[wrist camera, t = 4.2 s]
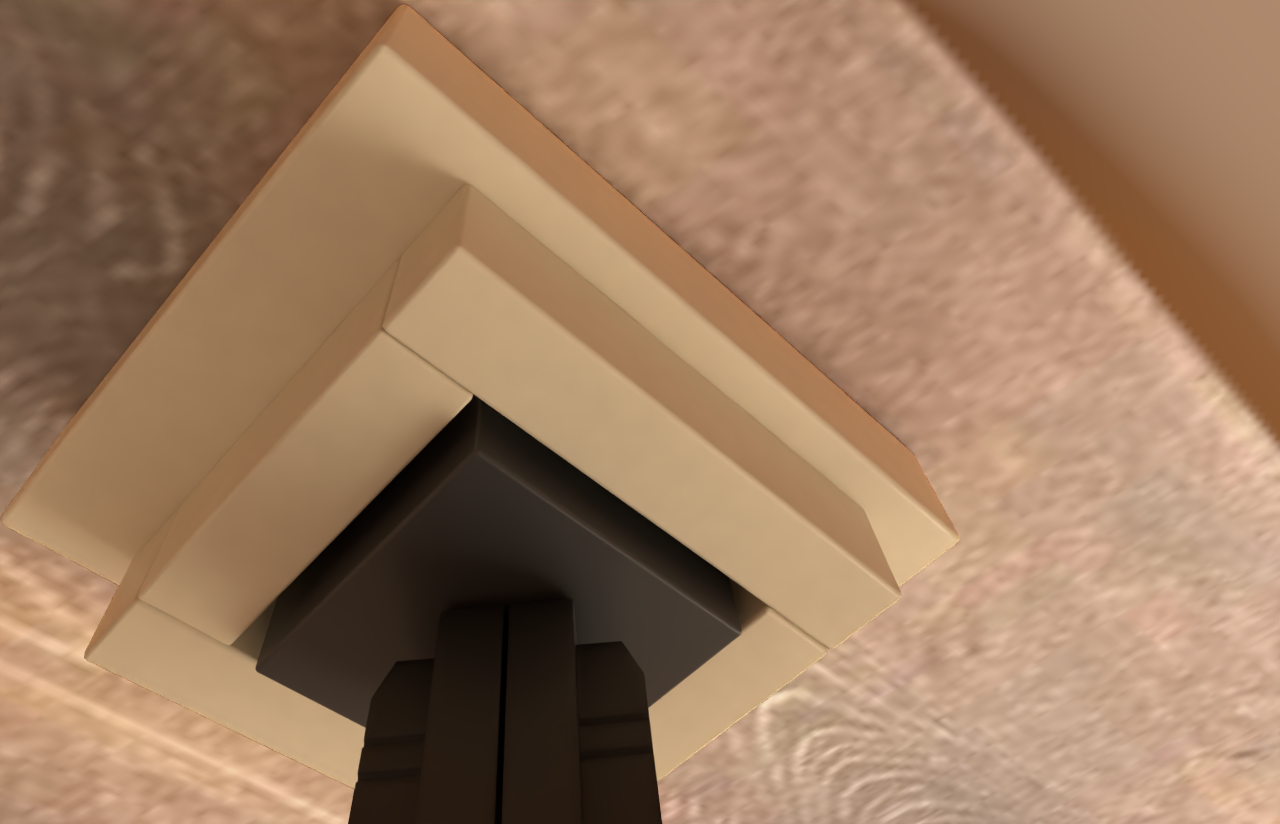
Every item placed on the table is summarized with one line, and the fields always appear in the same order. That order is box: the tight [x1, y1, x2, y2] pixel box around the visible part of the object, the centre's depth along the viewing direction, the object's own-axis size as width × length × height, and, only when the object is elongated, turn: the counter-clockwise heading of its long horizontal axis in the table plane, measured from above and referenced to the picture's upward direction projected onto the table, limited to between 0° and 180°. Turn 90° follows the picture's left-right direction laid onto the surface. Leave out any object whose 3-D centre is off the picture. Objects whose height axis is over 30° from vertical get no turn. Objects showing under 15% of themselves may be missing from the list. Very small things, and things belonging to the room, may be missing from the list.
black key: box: [255, 394, 742, 728], centre depth 13 cm, size 4×4×2 cm
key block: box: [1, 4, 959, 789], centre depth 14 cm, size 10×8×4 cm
